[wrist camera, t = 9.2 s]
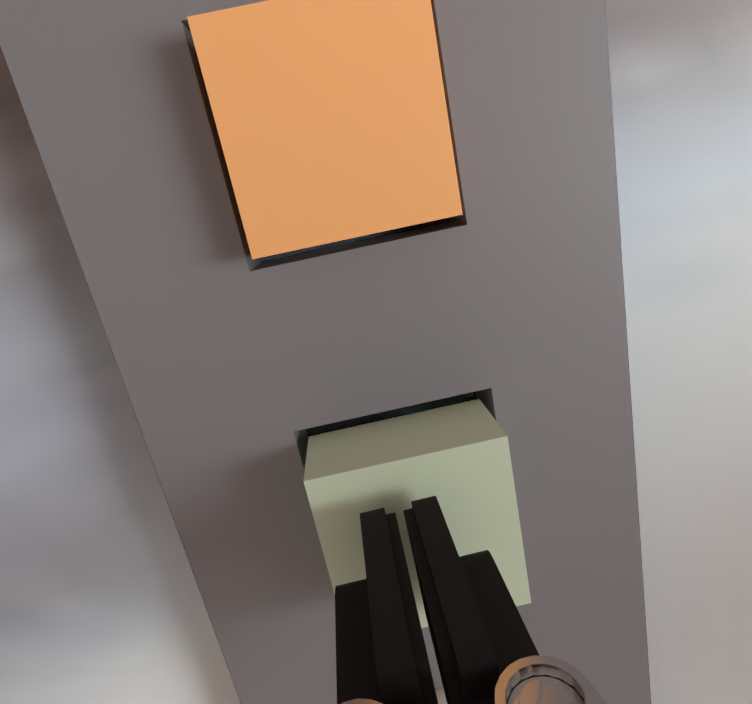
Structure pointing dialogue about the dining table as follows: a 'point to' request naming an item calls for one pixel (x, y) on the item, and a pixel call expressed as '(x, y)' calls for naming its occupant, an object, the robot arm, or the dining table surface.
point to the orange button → (329, 117)
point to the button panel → (357, 318)
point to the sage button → (418, 488)
